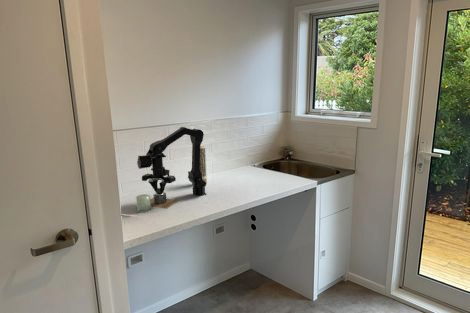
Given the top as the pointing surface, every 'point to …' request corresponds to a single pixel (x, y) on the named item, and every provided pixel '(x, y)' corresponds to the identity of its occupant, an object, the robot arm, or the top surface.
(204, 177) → the paper tube
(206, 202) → the top surface
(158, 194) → the plunger
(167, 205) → the walnut board
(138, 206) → the sage mug
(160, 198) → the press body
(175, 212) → the top surface
